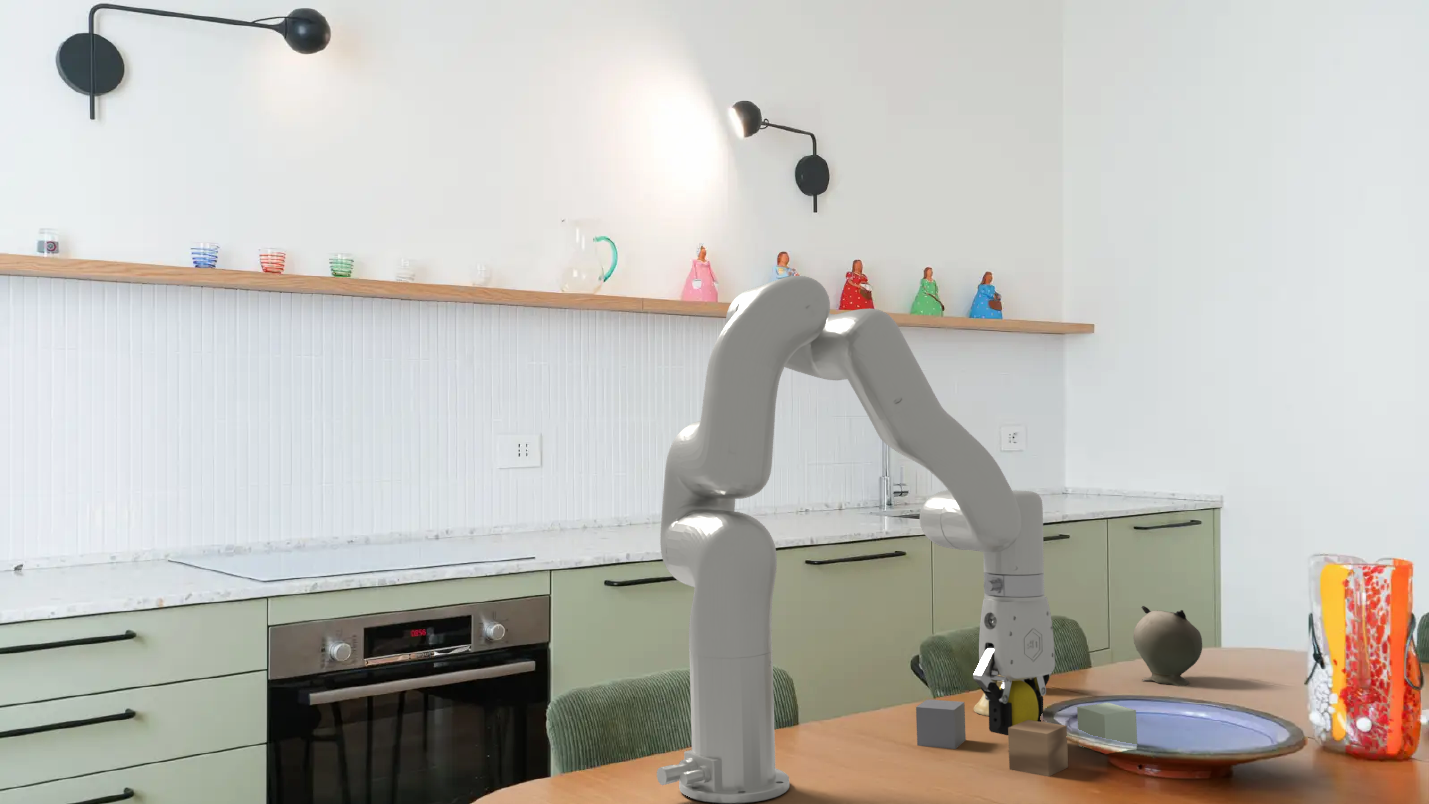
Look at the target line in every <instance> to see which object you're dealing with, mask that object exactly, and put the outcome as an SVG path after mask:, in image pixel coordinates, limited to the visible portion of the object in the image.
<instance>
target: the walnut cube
mask: <svg viewBox="0 0 1429 804" xmlns="http://www.w3.org/2000/svg"><path fill="white" fill-rule="evenodd" d="M1067 731H1068V729H1067V725H1066V724H1059V723H1052V722H1045V721H1044V722H1039V721H1032V720H1027V721H1024V722H1021V723H1019V724H1016V725H1014V726H1011V727H1009V728H1008V735H1007V736H1008V739H1007V740H1008V762H1009V763H1008V766H1009V768H1008V769H1009V771H1015V772H1021V773H1025V774H1032V775H1038V776H1044V777H1051V776H1052V775H1055V774H1057V773H1059V772H1061V771H1063V770H1065V769H1067V768H1069V760H1068V759H1069V758H1068V757H1069V756H1068V754H1069V753H1068V752H1069V751H1068V732H1067ZM1066 736H1067V738H1066Z"/></svg>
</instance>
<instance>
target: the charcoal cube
mask: <svg viewBox="0 0 1429 804" xmlns="http://www.w3.org/2000/svg"><path fill="white" fill-rule="evenodd" d="M915 713H916V715H915V716H916V745H917V746H918V747H919V746H920V747H928V748H930V747H931V748H941V749H950V750H952V749H953V750H956V749H957V748H958V747H960V746H961V745H962V744H963V743H964V742H966V740H967V739H966V738H967V737H966V735H967V734H966V708H965V701H958V700H957V701H956V700H955V701H954V700H944V699H943V700H940V699H930V698H928V699H927V698H926V700H924V701H922V703H920V704H919V705H917V706H915Z"/></svg>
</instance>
